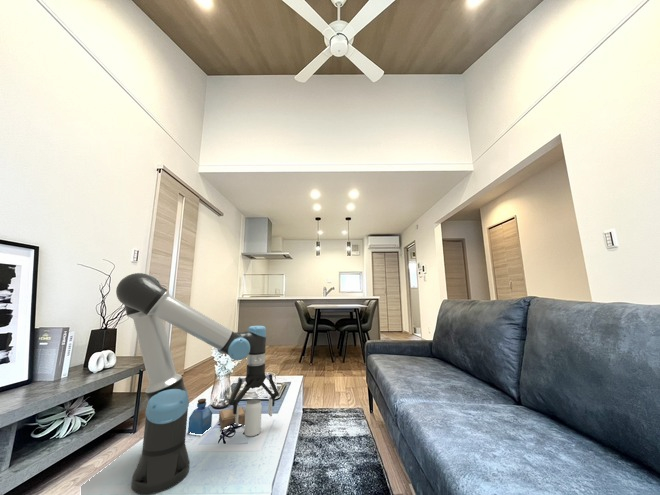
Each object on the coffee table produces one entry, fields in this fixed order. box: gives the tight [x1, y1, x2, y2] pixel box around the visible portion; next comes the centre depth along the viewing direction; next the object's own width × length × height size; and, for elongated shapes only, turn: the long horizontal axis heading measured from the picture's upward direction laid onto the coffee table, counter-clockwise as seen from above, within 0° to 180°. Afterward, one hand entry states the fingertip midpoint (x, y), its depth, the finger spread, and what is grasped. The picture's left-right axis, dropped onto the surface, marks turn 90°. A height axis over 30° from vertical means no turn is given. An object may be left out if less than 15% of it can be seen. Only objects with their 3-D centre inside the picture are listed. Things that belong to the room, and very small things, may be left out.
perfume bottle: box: [187, 398, 213, 434], centre depth 111 cm, size 6×6×12 cm
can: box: [243, 397, 263, 438], centre depth 110 cm, size 6×6×12 cm
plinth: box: [218, 406, 245, 429], centre depth 117 cm, size 10×10×4 cm
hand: (253, 418), depth 109 cm, fingers open, 13 cm apart
